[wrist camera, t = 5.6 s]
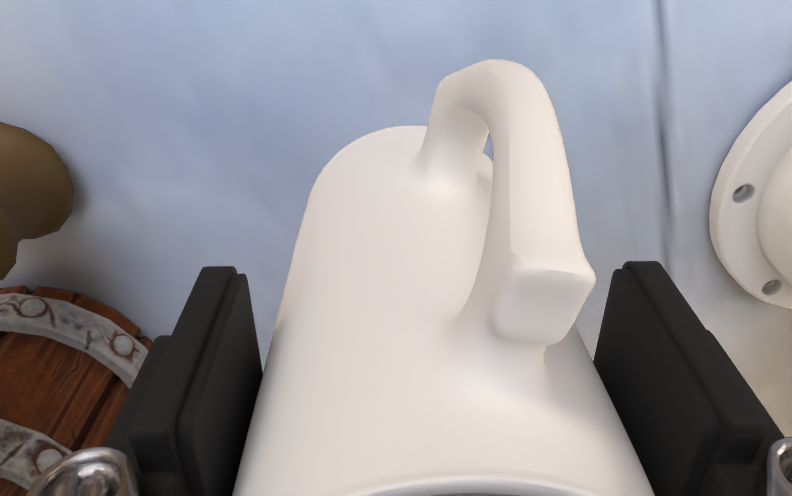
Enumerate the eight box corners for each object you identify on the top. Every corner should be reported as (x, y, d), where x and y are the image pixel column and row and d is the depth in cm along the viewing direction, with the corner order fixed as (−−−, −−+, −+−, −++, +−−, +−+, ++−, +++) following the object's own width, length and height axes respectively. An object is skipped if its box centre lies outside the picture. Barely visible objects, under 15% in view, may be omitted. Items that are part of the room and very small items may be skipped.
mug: (483, 321, 21) (585, 752, 11) (286, 291, 20) (193, 730, 10) (592, 20, 16) (991, 296, 6) (334, -38, 15) (246, 164, 5)
